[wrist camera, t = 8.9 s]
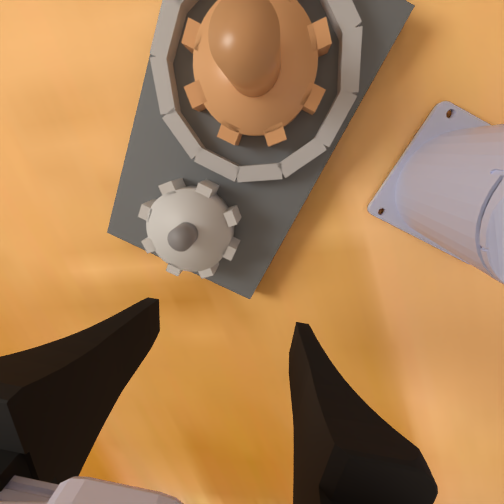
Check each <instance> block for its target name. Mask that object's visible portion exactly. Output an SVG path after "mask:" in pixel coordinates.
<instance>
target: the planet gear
mask: <svg viewBox="0 0 504 504" xmlns="http://www.w3.org/2000/svg"><path fill="white" fill-rule="evenodd" d="M181 43H182V44H183V45H184V46H185V47H186V48H187V49H188V50H189V51H190V52H191V53H193V72H194V79H195V82H192V83H190V84H188V85H186V86H184V89H185V91H186V94H187V97H188V99H189V102H190V104H191V107H192V109H194V110H197V111H199V112H201V111H203V110H205V109H207V110H208V111H209V112H210V114H211V115H212V116H213V117H214V118H215V119H216V120H217V121H218V122H219V123H221V126H220V129H219V132H218V135H217V137H219V138H221V139H223V140H225V141H227V142H229V143H231V144H233V145H237V146H238V145H239V142H240V140H241V137H242V135H247V136H264V135H265V138H266V142H267V145H268V147H270V146H273V145H275V144H278V143H280V142H283V141H285V140H287V138H286V134H285V131H284V127H285V126H287V125H288V124H289V123H290V122H292V121H293V120H294V119H295V117H296V116H297V115H298V114H299V113H300V111H301V110H303V111H305V112H307V113H309V114H311V115H313V114H314V113H315V111H316V109H317V107H318V105H319V103H320V101H321V99H322V97H323V95H324V93H325V91H326V89H324V88H322V87H320V86H318V85H316V84H314V82H315V78H316V73H317V67H318V57H320V56H322V55H324V54H327V53H328V51H329V49H330V46H331V44H332V41H331V36H330V32H329V27H328V22H327V18H326V17H324V18H322V19H320V20H318V21H316V22H314V23H311V21H310V19H309V17H308V15H307V13H306V12H305V10H304V8H303V7H302V6H301V5H300V4H299V2H298V1H297V0H217V1H216V2H215V3H214V5H213V6H212V7H211V8H210V9H209V11H208V12H207V14H206V16H205V17H204V19H203V21H202V23H201V24H200V23H198V22H196V21H194V20H193V19H191V18H189V17H188V20H187V23H186V27H185V31H184V34H183V38H182V42H181Z"/></svg>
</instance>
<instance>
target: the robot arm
mask: <svg viewBox="0 0 504 504" xmlns="http://www.w3.org/2000/svg"><path fill="white" fill-rule="evenodd" d="M448 110H450V111H451V112H452V114H451V117H450V118H447V117H446V113H447V111H448ZM381 208H383V209H384V211H383V213H382V214H378V211H379V209H381ZM367 210H368V212H369V213H370V214H371V215H373V216H375V217H377V218H379V219H381V220H383V221H385V222H387V223H389V224H391V225H393V226H395V227H397V228H399V229H401V230H403V231H405V232H407V233H409V234H411V235H412V236H414V237H416V238H418V239H420V240H422V241H424V242H426V243H428V244H430V245H432V246H434V247H436V248H438V249H440V250H442V251H444V252H446V253H448V254H450V255H452V256H454V257H456V258H458V259H459V260H461V261H463V262H465V263H467V264H470V265H473V266H474V267H476V268H477V269H479V270H481V271H482V272H484V273H486V274H487V275H489V276H491V277H492V278H494V279H496V280H497V281H499V282H500V283H502V284H504V124H499V125H490V124H488V123H487V122H485V121H483V120H481V119H480V118H478V117H476V116H474V115H472V114H471V113H469V112H467V111H465V110H463V109H462V108H460V107H458V106H456V105H454V104H453V103H451V102H449V101H443V102H440V103H438V104H437V105H436V106H435V107H434V108H433V110H432V111H431V113H430V114H429V116H428V117H427V119H426V120H425V122H424V123H423V125H422V126H421V128H420V129H419V130H418V132H417V133H416V135H415V136H414V138H413V139H412V141H411V142H410V144H409V145H408V147H407V148H406V150H405V151H404V153H403V154H402V156H401V157H400V159H399V160H398V162H397V163H396V165H395V166H394V168H393V169H392V171H391V172H390V174H389V175H388V177H387V178H386V180H385V181H384V183H383V184H382V186H381V187H380V189H379V190H378V192H377V193H376V194H375V196H374V197H373V199H372V200H371V202H370V203H369V205H368V207H367ZM159 331H160V321H159V299H154V298H146V299H144V300H142V301H140V302H138V303H136V304H134V305H132V306H131V307H129V308H127V309H125V310H123V311H121V312H120V313H118V314H116V315H114V316H112V317H110V318H108V319H106V320H104V321H102V322H100V323H98V324H96V325H94V326H92V327H89V328H87V329H85V330H83V331H80V332H78V333H75V334H73V335H70V336H68V337H65V338H62V339H59V340H56V341H53V342H51V343H48V344H45V345H42V346H39V347H35V348H32V349H28V350H25V351H21V352H17V353H14V354H10V355H6V356H2V357H0V504H183V503H182V502H181V501H179V500H178V499H177V498H175V497H173V496H170V495H167V494H164V493H162V492H158V491H153V490H148V489H143V488H139V487H134V486H129V485H124V484H119V483H115V482H110V481H105V480H100V479H96V478H91V477H78V476H79V474H80V471H81V469H82V467H83V465H84V463H85V461H86V459H87V457H88V455H89V453H90V451H91V449H92V447H93V445H94V443H95V441H96V439H97V437H98V435H99V433H100V431H101V429H102V427H103V425H104V423H105V421H106V419H107V417H108V416H109V414H110V412H111V410H112V408H113V406H114V405H115V403H116V401H117V399H118V397H119V396H120V394H121V392H122V391H123V389H124V388H125V386H126V385H127V383H128V382H129V380H130V379H131V377H132V376H133V374H134V373H135V371H136V370H137V368H138V367H139V365H140V364H141V363H142V361H143V360H144V358H145V357H146V355H147V354H148V352H149V351H150V349H151V347H152V345H153V344H154V342H155V340H156V338H157V336H158V333H159ZM289 380H290V390H291V401H292V411H293V425H294V484H293V504H433V503H434V501H435V498H436V496H437V494H438V488H437V484H436V482H435V480H434V478H433V476H432V474H431V471H430V469H429V467H428V465H427V463H426V461H425V459H424V457H423V455H422V454H421V452H420V450H419V448H417V447H416V446H415V445H414V444H412V443H411V442H410V441H409V440H407V439H406V438H405V437H403V436H402V435H401V434H400V433H398V432H397V431H396V430H395V429H393V428H392V427H391V426H390V425H389V424H388V423H387V422H385V421H384V420H383V419H382V418H381V417H380V416H379V415H378V414H377V413H376V412H374V411H373V410H372V409H371V408H370V407H369V406H368V405H367V404H366V403H365V402H364V401H363V400H362V399H361V398H360V397H359V396H358V394H357V393H356V392H355V391H354V390H353V389H352V388H351V387H350V385H349V384H348V383H347V382H346V381H345V380H344V378H343V377H342V376H341V375H340V373H339V372H338V371H337V369H336V368H335V366H334V365H333V364H332V362H331V361H330V359H329V358H328V356H327V355H326V353H325V351H324V350H323V348H322V347H321V345H320V343H319V342H318V340H317V338H316V336H315V335H314V333H313V331H312V329H311V327H310V326H309V324H305V323H299V322H296V326H295V330H294V335H293V339H292V343H291V348H290V352H289Z"/></svg>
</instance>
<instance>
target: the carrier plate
mask: <svg viewBox="0 0 504 504" xmlns="http://www.w3.org/2000/svg"><path fill="white" fill-rule="evenodd" d="M216 1H217V0H162V5H161V9H160V13H159V17H158V21H157V25H156V29H155V34H154V38H153V42H152V46H151V50H150V57H149V62H148V66H147V70H146V74H145V78H144V82H143V86H142V90H141V95H140V99H139V103H138V107H137V111H136V115H135V119H134V124H133V128H132V132H131V136H130V140H129V144H128V148H127V152H126V157H125V161H124V165H123V169H122V173H121V177H120V181H119V186H118V190H117V194H116V198H115V202H114V206H113V210H112V214H111V219H110V223H109V227H108V231H107V233H109V234H111V235H114V236H116V237H118V238H120V239H122V240H124V241H126V242H128V243H131V244H133V245H135V246H137V247H139V248H141V249H143V250H146V252H147V253H152V254H154V255H156V256H158V257H160V258H161V259H162V260H164V261H165V262H166V263H168V266H167V269H166V271H167V272H169V273H172V274H174V275H176V276H179V274H180V273H181V272H182V271H183V270H184V271H190V272H193V273H195V274H197V275H199V276H200V277H201V279H202V278H205V279H208V280H210V281H212V282H214V283H216V284H218V285H220V286H222V287H225V288H227V289H229V290H231V291H233V292H235V293H237V294H240V295H242V296H244V297H246V298H248V299H250V298H251V297H252V295H253V293H254V291H255V289H256V288H257V286H258V284H259V282H260V281H261V279H262V277H263V275H264V273H265V272H266V270H267V268H268V266H269V265H270V263H271V261H272V259H273V257H274V256H275V254H276V252H277V250H278V248H279V247H280V245H281V243H282V241H283V240H284V238H285V236H286V234H287V232H288V231H289V229H290V227H291V225H292V224H293V222H294V220H295V218H296V216H297V215H298V213H299V211H300V209H301V208H302V206H303V204H304V202H305V200H306V199H307V197H308V195H309V193H310V191H311V190H312V188H313V186H314V184H315V183H316V181H317V179H318V177H319V175H320V174H321V172H322V170H323V168H324V167H325V165H326V163H327V161H328V159H329V158H330V156H331V154H332V152H333V150H334V149H335V147H336V145H337V143H338V142H339V140H340V138H341V136H342V134H343V133H344V131H345V129H346V127H347V126H348V124H349V122H350V120H351V118H352V117H353V115H354V113H355V111H356V110H357V108H358V106H359V104H360V102H361V101H362V99H363V97H364V95H365V93H366V92H367V90H368V88H369V86H370V85H371V83H372V81H373V79H374V77H375V76H376V74H377V72H378V70H379V69H380V67H381V65H382V63H383V61H384V60H385V58H386V56H387V54H388V52H389V51H390V49H391V47H392V45H393V44H394V42H395V40H396V38H397V36H398V35H399V33H400V31H401V29H402V28H403V26H404V24H405V22H406V20H407V19H408V17H409V15H410V13H411V12H412V10H413V8H414V5H413V4H411V3H409V2H407V1H406V0H297V1H298V2H299V4H300V5H301V6H302V7H303V8H304V10H305V12H306V13H307V15H308V17H309V19H310V21H311V23H314V22H316V21H318V20H320V19H322V18H324V17H326V18H327V22H328V27H329V32H330V36H331V41H332V44H331V46H330V49H329V51H328V53H327V54H324V55H322V56H320V57H318V67H317V73H316V78H315V82H314V84H316V85H318V86H320V87H322V88H324V89H326V91H325V93H324V95H323V97H322V99H321V101H320V103H319V105H318V107H317V109H316V111H315V113H314V114H313V115H311V114H309V113H307V112H305V111H303V110H301V111H300V113H299V114H298V115H297V116H296V117H295V119H294V120H293V121H292V122H290V123H289V124H288V125H287V126H285V127H284V131H285V134H286V138H287V140H285V141H283V142H280V143H278V144H275V145H273V146H270V147H268V145H267V142H266V138H265V135H264V136H247V135H242V137H241V140H240V142H239V145H238V146H237V145H233V144H231V143H229V142H227V141H225V140H223V139H221V138H219V137H217V135H218V132H219V129H220V126H221V123H219V122H218V121H217V120H216V119H215V118H214V117H213V116H212V115H211V114H210V112H209V111H208V110H207V109H205V110H203V111H201V112H199V111H197V110H194V109H192V107H191V104H190V102H189V99H188V97H187V94H186V91H185V89H184V86H186V85H188V84H190V83H192V82H195V79H194V72H193V53H191V52H190V51H189V50H188V49H187V48H186V47H185V46H184V45H183V44H182V43H181V42H182V38H183V34H184V31H185V27H186V23H187V20H188V17H189V18H191V19H193V20H194V21H196V22H198V23H200V24H201V23H202V21H203V19H204V17H205V16H206V14H207V12H208V11H209V9H210V8H211V7H212V6H213V5H214V3H215V2H216Z"/></svg>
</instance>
